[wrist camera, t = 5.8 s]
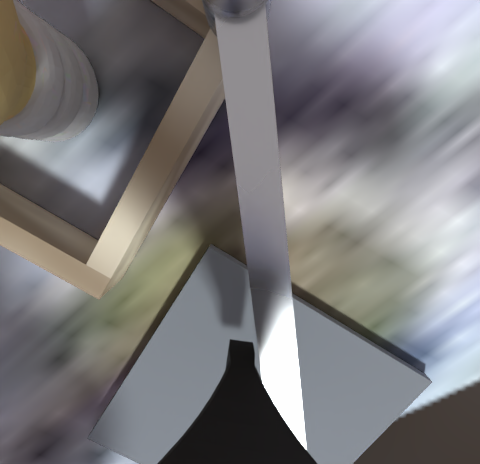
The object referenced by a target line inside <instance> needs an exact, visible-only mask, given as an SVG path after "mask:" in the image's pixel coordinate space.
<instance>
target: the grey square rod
mask: <svg viewBox="0 0 480 464" xmlns="http://www.w3.org/2000/svg"><path fill="white" fill-rule="evenodd" d="M202 3H203V7H204V11H205V15H206V18H207V22H208V24H209V27H210V29H211V30H212V32H213V33H214V34H215V35H216V36H217V39H218V46H219V54H220V61H221V69H222V77H223V84H224V92H225V100H226V107H227V115H228V122H229V130H230V138H231V145H232V153H233V161H234V168H235V176H236V183H237V191H238V199H239V206H240V214H241V222H242V229H243V237H244V244H245V252H246V260H247V267H248V275H249V283H250V290H251V298H252V305H253V313H254V321H255V328H256V336H257V344H258V351H259V359H260V366H261V374H262V382H263V384H264V386H265V388H266V389H267V391H268V393H269V395H270V397H271V399H272V400H273V402H274V404H275V406H276V407H277V409H278V410H279V412H280V414H281V415H282V417H283V418H284V420H285V421H286V423H287V424H288V426H289V427H290V429H291V430H292V432H293V433H294V434H295V436H296V437H297V438H298V440H299V441H300V443H301V444H302V445H303V446H304V448H305V449H306V440H305V429H304V418H303V408H302V397H301V386H300V375H299V364H298V353H297V343H296V332H295V321H294V310H293V299H292V288H291V277H290V267H289V256H288V245H287V234H286V223H285V212H284V202H283V191H282V180H281V169H280V158H279V147H278V137H277V126H276V115H275V104H274V93H273V82H272V72H271V61H270V50H269V39H268V28H267V21H268V17H269V11H270V5H271V0H202Z"/></svg>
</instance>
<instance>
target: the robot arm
mask: <svg viewBox="0 0 480 464" xmlns="http://www.w3.org/2000/svg"><path fill="white" fill-rule="evenodd" d="M157 464H317V462H316V461H315V460H314V459H313V457H312V456H311V455H310V454H309V453H308V451H307V450H306V449H305V448H304V446H303V445H302V444H301V443H300V441H299V440H298V438H297V437H296V436H295V434H294V433H293V432H292V430H291V429H290V427H289V426H288V424H287V423H286V421H285V420H284V418H283V417H282V415H281V414H280V412H279V410H278V409H277V407H276V406H275V404H274V402H273V400H272V399H271V397H270V395H269V393H268V391H267V389H266V388H265V386H264V384H263V382H262V379H261V377H260V375H259V373H258V371H257V369H256V367H255V351H254V345H253V342H247V341H239V340H231V339H230V341H229V348H228V355H227V362H226V369H225V372H224V374H223V376H222V378H221V380H220V382H219V384H218V385H217V387H216V389H215V391H214V392H213V394H212V396H211V397H210V399H209V400H208V402H207V403H206V405H205V406H204V408H203V409H202V411H201V412H200V414H199V415H198V416H197V418H196V419H195V420H194V422H193V423H192V424H191V426H190V427H189V428H188V429H187V431H186V432H185V433H184V434H183V436H182V437H181V438H180V439H179V440H178V442H177V443H176V444H175V445H174V446H173V447H172V448H171V449H170V450H169V451H168V452H167V454H166V455H165V456H164V457H163V458H162V459H161V460H160V461H159V462H158V463H157Z"/></svg>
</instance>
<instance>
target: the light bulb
mask: <svg viewBox="0 0 480 464" xmlns="http://www.w3.org/2000/svg"><path fill="white" fill-rule="evenodd" d="M97 106H98V84H97V80H96V76H95V73H94V70H93V68H92V66H91V64H90V62H89V60H88V58H87V57H86V56H85V54H84V53H83V52H82V50H81V49H80V48H79V47H78V46H77V45H76V44H75V43H74V42H73V41H72V40H70V39H69V38H68V37H66V36H65V35H64V34H62V33H61V32H59V31H58V30H56V29H55V28H54V27H52V26H51V25H50V24H49V23H47V22H46V21H44V20H43V19H41V18H40V17H38V16H37V15H35V14H33V13H32V12H31V11H30V10H29V9H27V8H26V7H25V6H24V5H22V4H21V3H20V2H18V1H17V0H0V136H6V137H11V136H13V137H17V138H22V139H31V140H34V139H35V140H40V141H47V142H59V141H65V140H69V139H71V138H74V137H76V136H77V135H78V134H80V133H81V132H83V131H84V130H85V129H86V128H87V126H88V125H89V124H90V123H91V121H92V119H93V117H94V115H95V112H96V109H97Z"/></svg>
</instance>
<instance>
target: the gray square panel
mask: <svg viewBox="0 0 480 464" xmlns="http://www.w3.org/2000/svg"><path fill="white" fill-rule="evenodd" d="M292 299H293V310H294V321H295V332H296V343H297V353H298V364H299V375H300V386H301V397H302V408H303V418H304V429H305V440H306V450H307V451H308V453H309V454H310V455H311V456H312V457H313V459H314V460H315V461H316V462H317V464H353V463H354V462H355V460H356V459H357V458H358V457H359V456H360V455H361V454H362V453H363V452H364V451H365V450H366V449H367V448H368V447H369V446H370V445H371V444H372V443H373V442H374V441H375V440H376V439H377V438H378V437H379V436H380V435H381V434H382V433H383V432H384V431H385V430H386V429H387V428H388V427H389V426H390V425H391V424H392V423H393V422H394V421H395V420H396V419H397V418H398V417H399V416H400V415H401V414H402V412H403V411H404V410H405V409H406V408H407V407H408V406H409V405H410V404H411V403H412V402H413V401H414V400H415V399H416V398H417V397H418V396H419V395H420V394H421V393H422V392H423V391H424V390H425V389H426V388H427V387H428V386H429V385H430V384H431V383H432V381H431V380H430V379H429V378H428V377H427V375H426V374H424V373H423V372H421V371H419V370H418V369H416V368H415V367H413V366H411V365H410V364H408V363H406V362H405V361H403V360H401V359H400V358H398V357H396V356H395V355H393V354H392V353H390V352H388V351H387V350H385V349H383V348H382V347H380V346H378V345H377V344H375V343H373V342H372V341H370V340H368V339H367V338H365V337H364V336H362V335H360V334H359V333H357V332H355V331H354V330H352V329H350V328H349V327H347V326H345V325H344V324H342V323H340V322H339V321H337V320H336V319H334V318H332V317H331V316H329V315H327V314H326V313H324V312H322V311H321V310H319V309H317V308H316V307H314V306H312V305H311V304H309V303H308V302H306V301H304V300H303V299H301V298H299V297H298V296H296V295H294V294H293V293H292ZM230 339H231V340H239V341H247V342H253V345H254V351H255V367H256V369H257V371H258V373H259V375H260V377H261V379H262V374H261V366H260V359H259V351H258V344H257V336H256V328H255V321H254V313H253V305H252V298H251V290H250V283H249V275H248V267H247V265H245V264H243V263H242V262H240V261H238V260H237V259H235V258H233V257H232V256H230V255H229V254H227V253H225V252H224V251H222V250H220V249H219V248H217V247H215V246H214V245H212V244H210V246H209V247H208V249H207V251H206V252H205V254H204V255H203V257H202V258H201V260H200V262H199V263H198V265H197V266H196V268H195V269H194V271H193V273H192V274H191V276H190V277H189V279H188V280H187V282H186V284H185V285H184V287H183V288H182V290H181V291H180V293H179V295H178V296H177V298H176V299H175V301H174V302H173V304H172V306H171V307H170V309H169V310H168V312H167V313H166V315H165V317H164V318H163V320H162V321H161V323H160V324H159V326H158V328H157V329H156V331H155V332H154V334H153V336H152V337H151V339H150V340H149V342H148V343H147V345H146V347H145V348H144V350H143V351H142V353H141V354H140V356H139V358H138V359H137V361H136V362H135V364H134V365H133V367H132V369H131V370H130V372H129V373H128V375H127V376H126V378H125V380H124V381H123V383H122V384H121V386H120V387H119V389H118V391H117V392H116V394H115V395H114V397H113V398H112V400H111V402H110V403H109V405H108V406H107V408H106V409H105V411H104V413H103V414H102V416H101V417H100V419H99V420H98V422H97V424H96V425H95V427H94V428H93V430H92V432H91V433H90V435H89V437H88V439H89V440H91V441H93V442H95V443H98V444H100V445H102V446H104V447H106V448H108V449H110V450H112V451H114V452H116V453H118V454H120V455H122V456H124V457H126V458H128V459H131V460H133V461H135V462H137V463H139V464H157V463H158V462H159V461H160V460H161V459H162V458H163V457H164V456H165V455H166V454H167V452H168V451H169V450H170V449H171V448H172V447H173V446H174V445H175V444H176V443H177V442H178V440H179V439H180V438H181V437H182V436H183V434H184V433H185V432H186V431H187V429H188V428H189V427H190V426H191V424H192V423H193V422H194V420H195V419H196V418H197V416H198V415H199V414H200V412H201V411H202V409H203V408H204V406H205V405H206V403H207V402H208V400H209V399H210V397H211V396H212V394H213V392H214V391H215V389H216V387H217V385H218V384H219V382H220V380H221V378H222V376H223V374H224V372H225V369H226V362H227V355H228V348H229V341H230Z"/></svg>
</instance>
